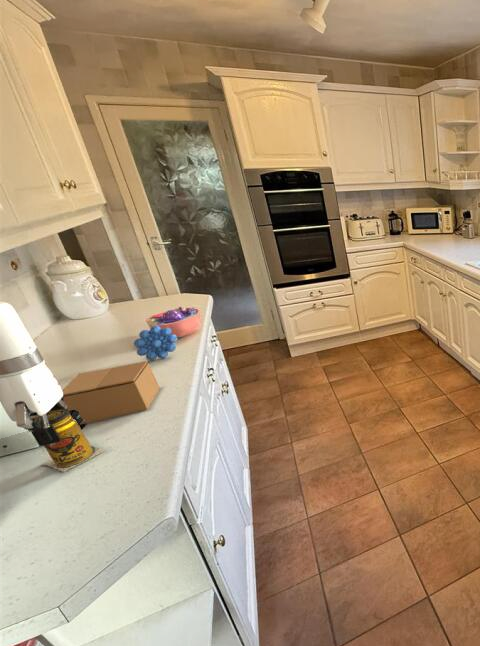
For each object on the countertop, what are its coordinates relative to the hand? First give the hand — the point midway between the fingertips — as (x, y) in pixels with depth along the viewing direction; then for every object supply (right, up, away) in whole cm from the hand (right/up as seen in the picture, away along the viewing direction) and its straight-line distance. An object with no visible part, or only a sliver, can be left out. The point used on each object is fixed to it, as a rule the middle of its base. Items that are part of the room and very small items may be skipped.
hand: (58, 433), depth 87 cm
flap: (-13, +9, +18) cm, 24 cm away
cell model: (-32, +22, +70) cm, 80 cm away
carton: (-10, +2, +23) cm, 25 cm away
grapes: (-22, +14, +51) cm, 58 cm away
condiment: (0, -7, +4) cm, 8 cm away
